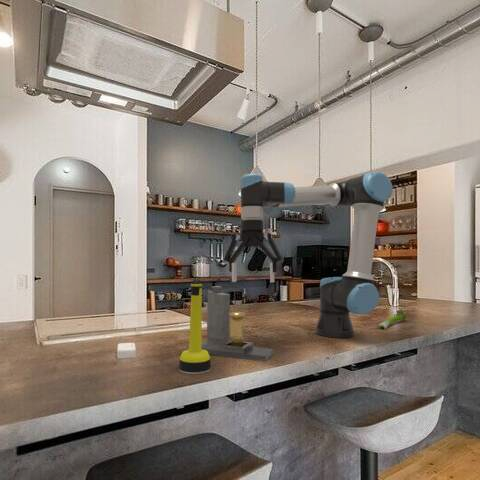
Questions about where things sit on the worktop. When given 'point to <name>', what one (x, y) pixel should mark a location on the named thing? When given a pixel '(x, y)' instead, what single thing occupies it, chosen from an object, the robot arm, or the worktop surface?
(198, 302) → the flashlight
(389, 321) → the leek
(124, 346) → the soap
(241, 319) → the pin
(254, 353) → the grey socket base
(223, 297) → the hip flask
